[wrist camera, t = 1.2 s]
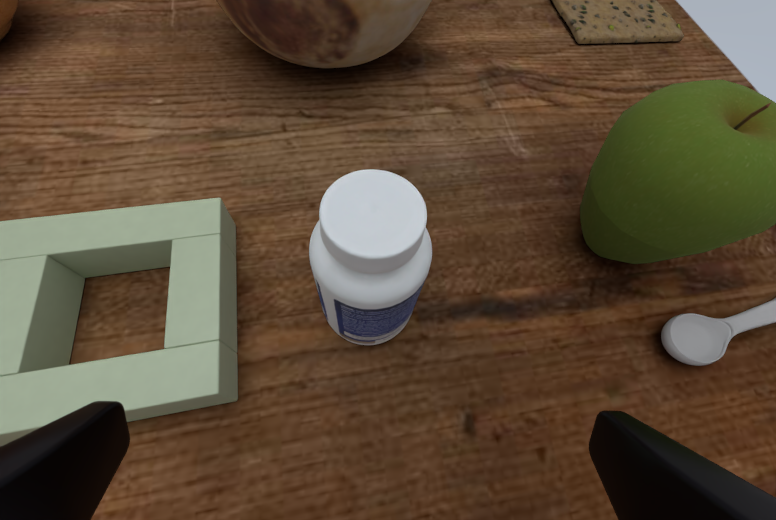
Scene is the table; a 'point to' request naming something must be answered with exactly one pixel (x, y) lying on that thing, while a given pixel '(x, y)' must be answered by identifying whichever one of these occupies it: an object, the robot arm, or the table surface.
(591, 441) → the robot arm
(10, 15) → the vase
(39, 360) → the frame
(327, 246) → the pill bottle
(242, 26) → the clay pot
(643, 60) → the table surface
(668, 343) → the spoon
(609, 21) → the cookie
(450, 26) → the table surface
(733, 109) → the apple
